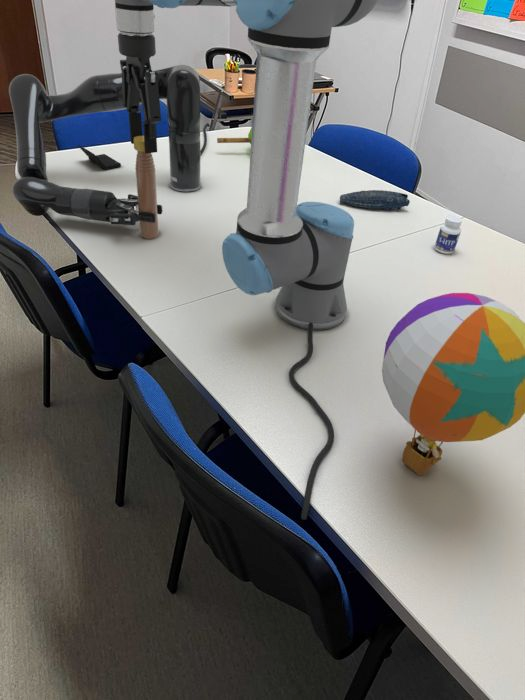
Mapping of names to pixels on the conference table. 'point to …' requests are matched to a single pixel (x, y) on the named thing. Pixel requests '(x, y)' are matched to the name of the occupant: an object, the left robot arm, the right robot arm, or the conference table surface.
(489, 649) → the conference table surface
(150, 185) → the bottle
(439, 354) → the toy
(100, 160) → the black angled piece
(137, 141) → the cap
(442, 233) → the pill bottle
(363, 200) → the fish model
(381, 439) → the conference table surface
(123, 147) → the conference table surface
